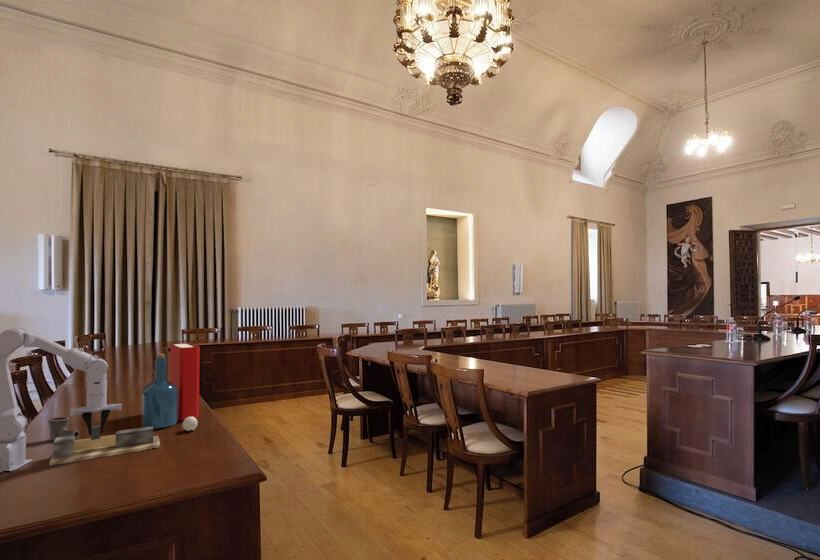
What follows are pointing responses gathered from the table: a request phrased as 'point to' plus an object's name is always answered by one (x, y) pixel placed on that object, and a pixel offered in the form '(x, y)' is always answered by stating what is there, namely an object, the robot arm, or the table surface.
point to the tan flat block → (94, 440)
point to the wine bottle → (160, 399)
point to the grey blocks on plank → (124, 444)
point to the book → (186, 377)
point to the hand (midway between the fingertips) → (95, 433)
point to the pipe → (61, 428)
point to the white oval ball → (190, 423)
